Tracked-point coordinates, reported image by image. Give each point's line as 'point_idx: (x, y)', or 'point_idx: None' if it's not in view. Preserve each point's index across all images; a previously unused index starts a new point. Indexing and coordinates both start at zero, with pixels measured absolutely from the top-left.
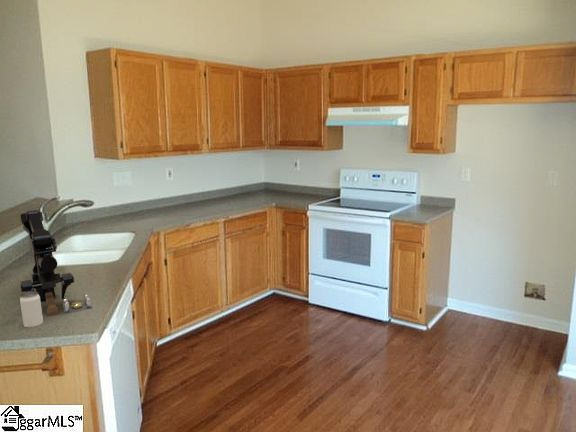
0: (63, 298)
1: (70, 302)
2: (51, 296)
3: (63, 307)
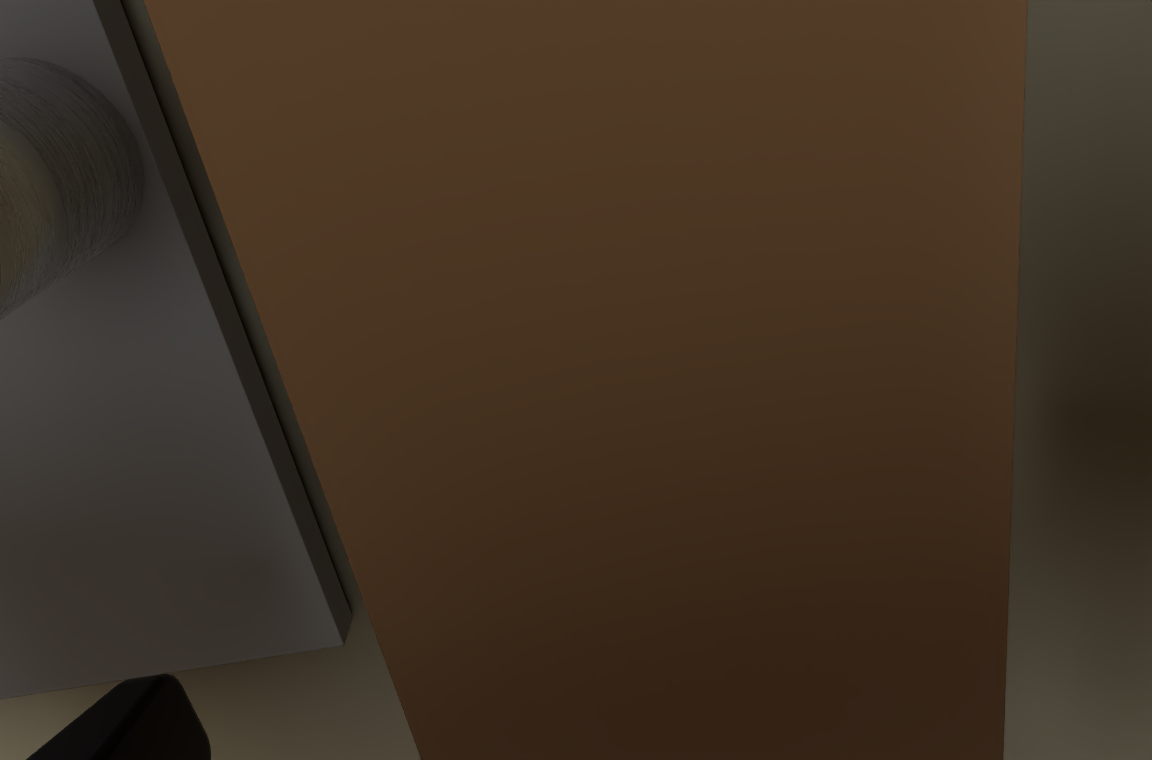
0: (77, 723)
1: (63, 675)
2: (563, 692)
3: (75, 121)
